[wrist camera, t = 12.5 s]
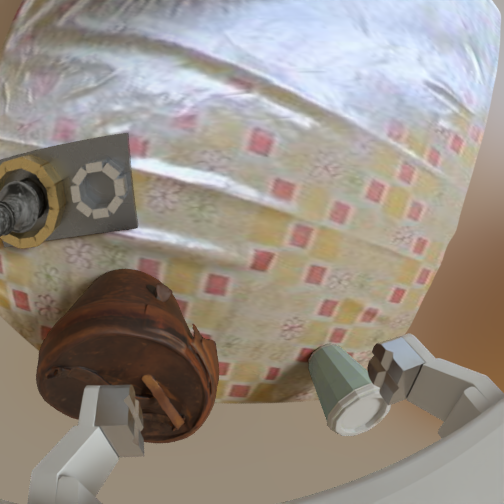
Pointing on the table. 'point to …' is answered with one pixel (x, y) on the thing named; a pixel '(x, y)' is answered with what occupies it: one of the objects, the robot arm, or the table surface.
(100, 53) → the table surface
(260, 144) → the table surface
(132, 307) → the case
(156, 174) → the table surface
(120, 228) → the socket plate
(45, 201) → the stone chess piece
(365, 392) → the disposable coffee cup
